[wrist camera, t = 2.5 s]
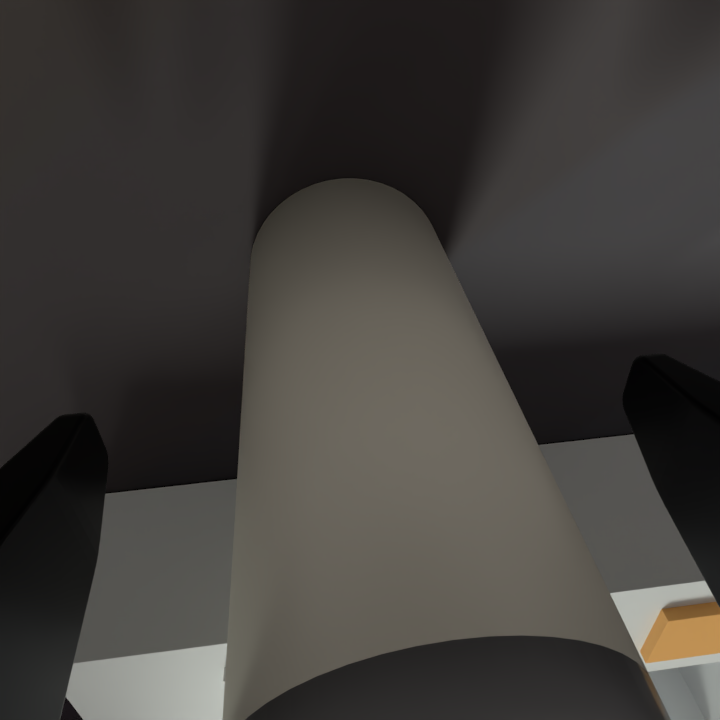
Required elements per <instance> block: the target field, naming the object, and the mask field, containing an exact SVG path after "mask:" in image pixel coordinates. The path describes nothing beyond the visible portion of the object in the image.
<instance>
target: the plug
mask: <svg viewBox="0 0 720 720" xmlns="http://www.w3.org/2000/svg"><path fill="white" fill-rule="evenodd" d="M223 720H671V719H670V717H669V715H668V713H667V711H666V708H665V706H664V704H663V702H662V700H661V698H660V696H659V694H658V692H657V690H656V688H655V686H654V684H653V682H652V679H651V677H650V675H649V673H648V671H647V669H646V667H645V665H644V663H643V661H642V659H641V657H640V655H639V653H638V650H637V648H636V646H635V644H634V642H633V640H632V638H631V636H630V634H629V632H628V630H627V628H626V626H625V624H624V622H623V619H622V617H621V615H620V613H619V611H618V609H617V607H616V605H615V603H614V601H613V599H612V597H611V595H610V593H609V590H608V588H607V586H606V584H605V582H604V580H603V578H602V576H601V574H600V572H599V570H598V568H597V566H596V564H595V561H594V559H593V557H592V555H591V553H590V551H589V549H588V547H587V545H586V543H585V541H584V539H583V537H582V535H581V533H580V530H579V528H578V526H577V524H576V522H575V520H574V518H573V516H572V514H571V512H570V510H569V508H568V506H567V504H566V501H565V499H564V497H563V495H562V493H561V491H560V489H559V487H558V485H557V483H556V481H555V479H554V477H553V475H552V473H551V470H550V468H549V466H548V464H547V462H546V460H545V458H544V456H543V454H542V452H541V450H540V448H539V446H538V444H537V441H536V439H535V437H534V435H533V433H532V431H531V429H530V427H529V425H528V423H527V421H526V419H525V417H524V415H523V412H522V410H521V408H520V406H519V404H518V402H517V400H516V398H515V396H514V394H513V392H512V390H511V388H510V386H509V384H508V381H507V379H506V377H505V375H504V373H503V371H502V369H501V367H500V365H499V363H498V361H497V359H496V357H495V355H494V352H493V350H492V348H491V346H490V344H489V342H488V340H487V338H486V336H485V334H484V332H483V330H482V328H481V326H480V324H479V321H478V319H477V317H476V315H475V313H474V311H473V309H472V307H471V305H470V303H469V301H468V299H467V297H466V295H465V292H464V290H463V288H462V286H461V284H460V282H459V280H458V278H457V276H456V274H455V272H454V270H453V268H452V266H451V263H450V261H449V259H448V257H447V255H446V253H445V251H444V249H443V247H442V245H441V243H440V241H439V239H438V237H437V235H436V232H435V230H434V228H433V226H432V224H431V222H430V221H429V219H428V217H427V216H426V215H425V213H424V212H423V210H422V209H421V208H420V207H419V206H418V205H417V204H416V203H415V202H414V201H413V200H411V199H410V198H409V197H407V196H406V195H405V194H403V193H402V192H400V191H398V190H396V189H394V188H393V187H390V186H387V185H385V184H382V183H379V182H375V181H371V180H366V179H357V178H340V179H334V180H327V181H323V182H320V183H316V184H313V185H311V186H308V187H306V188H304V189H301V190H300V191H298V192H296V193H295V194H293V195H291V196H290V197H288V198H287V199H286V200H284V201H283V202H282V203H280V204H279V205H278V206H277V207H276V208H275V209H274V210H273V211H272V212H271V213H270V215H269V216H268V217H267V219H266V220H265V221H264V223H263V224H262V226H261V228H260V230H259V232H258V234H257V236H256V239H255V241H254V244H253V248H252V252H251V258H250V274H249V291H248V307H247V324H246V340H245V357H244V373H243V390H242V407H241V423H240V440H239V456H238V473H237V489H236V506H235V522H234V539H233V555H232V572H231V588H230V605H229V621H228V638H227V654H226V671H225V687H224V704H223Z"/></svg>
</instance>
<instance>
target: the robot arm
mask: <svg viewBox="0 0 720 720" xmlns="http://www.w3.org/2000/svg"><path fill="white" fill-rule="evenodd" d="M623 407H624V411H625V413H626V416H627V418H628V421H629V423H630V426H631V428H632V431H633V433H634V436H635V438H636V441H637V443H638V446H639V448H640V451H641V453H642V456H643V458H644V461H645V463H646V466H647V468H648V471H649V473H650V476H651V478H652V480H653V483H654V485H655V487H656V489H657V491H658V493H659V495H660V497H661V499H662V501H663V503H664V505H665V507H666V509H667V511H668V513H669V514H670V516H671V518H672V520H673V522H674V524H675V526H676V528H677V529H678V531H679V533H680V535H681V537H682V539H683V541H684V542H685V544H686V546H687V548H688V550H689V552H690V554H691V555H692V557H693V559H694V561H695V563H696V565H697V567H698V568H699V570H700V572H701V574H702V576H703V578H704V580H705V582H706V583H707V585H708V587H709V589H710V591H711V593H712V595H713V596H714V598H715V600H716V602H717V604H718V606H719V608H720V382H719V381H717V380H715V379H713V378H711V377H709V376H707V375H705V374H703V373H701V372H699V371H697V370H695V369H693V368H691V367H689V366H687V365H685V364H683V363H681V362H679V361H677V360H675V359H673V358H671V357H669V356H667V355H665V354H652V355H642V356H639V357H637V358H636V359H635V360H634V361H633V364H632V367H631V370H630V373H629V376H628V379H627V383H626V386H625V389H624V392H623ZM107 473H108V454H107V450H106V448H105V445H104V443H103V440H102V438H101V436H100V433H99V431H98V429H97V426H96V424H95V422H94V420H93V418H92V417H91V415H90V414H87V413H77V414H67V415H62V416H59V417H58V418H56V419H55V420H54V421H53V422H52V423H51V424H49V425H48V426H47V427H46V428H45V429H44V430H43V431H42V432H40V433H39V434H38V435H37V436H36V437H35V438H34V439H33V440H31V441H30V442H29V443H28V444H27V445H26V446H25V447H24V448H23V449H21V450H20V451H19V452H18V453H17V454H16V455H15V456H14V457H12V458H11V459H10V460H9V461H8V462H7V463H6V464H5V465H3V466H2V467H1V468H0V720H60V718H61V714H62V709H63V705H64V701H65V697H66V692H67V688H68V684H69V680H70V675H71V671H72V667H73V663H74V658H75V654H76V650H77V646H78V641H79V637H80V633H81V629H82V624H83V620H84V616H85V611H86V607H87V603H88V599H89V594H90V590H91V586H92V582H93V577H94V573H95V568H96V564H97V559H98V553H99V545H100V537H101V528H102V519H103V510H104V501H105V492H106V483H107Z"/></svg>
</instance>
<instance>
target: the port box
mask: <svg viewBox="0 0 720 720" xmlns="http://www.w3.org/2000/svg"><path fill="white" fill-rule="evenodd" d="M538 446H539V448H540V450H541V452H542V454H543V456H544V458H545V460H546V462H547V464H548V466H549V468H550V470H551V473H552V475H553V477H554V479H555V481H556V483H557V485H558V487H559V489H560V491H561V493H562V495H563V497H564V499H565V501H566V504H567V506H568V508H569V510H570V512H571V514H572V516H573V518H574V520H575V522H576V524H577V526H578V528H579V530H580V533H581V535H582V537H583V539H584V541H585V543H586V545H587V547H588V549H589V551H590V553H591V555H592V557H593V559H594V561H595V564H596V566H597V568H598V570H599V572H600V574H601V576H602V578H603V580H604V582H605V584H606V586H607V588H608V590H609V593H610V595H611V597H612V599H613V601H614V603H615V605H616V607H617V609H618V611H619V613H620V615H621V617H622V619H623V622H624V624H625V626H626V628H627V630H628V632H629V634H630V636H631V638H632V640H633V642H634V644H635V646H636V648H637V650H638V653H639V655H640V657H641V659H642V661H643V663H644V665H645V667H646V669H647V671H648V673H649V675H650V677H651V679H652V682H653V684H654V686H655V688H656V690H657V692H658V694H659V696H660V698H661V700H662V702H663V704H664V706H665V708H666V711H667V713H668V715H669V717H670V719H671V720H720V608H719V606H718V604H717V602H716V600H715V598H714V596H713V595H712V593H711V591H710V589H709V587H708V585H707V583H706V582H705V580H704V578H703V576H702V574H701V572H700V570H699V568H698V567H697V565H696V563H695V561H694V559H693V557H692V555H691V554H690V552H689V550H688V548H687V546H686V544H685V542H684V541H683V539H682V537H681V535H680V533H679V531H678V529H677V528H676V526H675V524H674V522H673V520H672V518H671V516H670V514H669V513H668V511H667V509H666V507H665V505H664V503H663V501H662V499H661V497H660V495H659V493H658V491H657V489H656V487H655V485H654V483H653V480H652V478H651V476H650V473H649V471H648V468H647V466H646V463H645V461H644V458H643V456H642V453H641V451H640V448H639V446H638V443H637V441H636V438H635V436H634V434H632V435H623V436H614V437H605V438H596V439H587V440H579V441H570V442H561V443H552V444H543V445H538ZM236 489H237V479H232V480H223V481H214V482H206V483H197V484H188V485H179V486H170V487H161V488H152V489H143V490H135V491H126V492H117V493H108V494H105V501H104V510H103V519H102V528H101V537H100V545H99V553H98V559H97V564H96V568H95V573H94V577H93V582H92V586H91V590H90V594H89V599H88V603H87V607H86V611H85V616H84V620H83V624H82V629H81V633H80V637H79V641H78V646H77V650H76V654H75V658H74V663H73V667H72V671H71V675H70V680H69V684H68V688H67V692H66V698H67V699H68V700H69V702H70V703H71V704H72V706H73V707H74V708H75V710H76V711H77V712H78V714H79V715H80V716H81V717H82V719H83V720H223V704H224V687H225V671H226V654H227V638H228V621H229V605H230V588H231V572H232V555H233V539H234V522H235V506H236Z"/></svg>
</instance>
